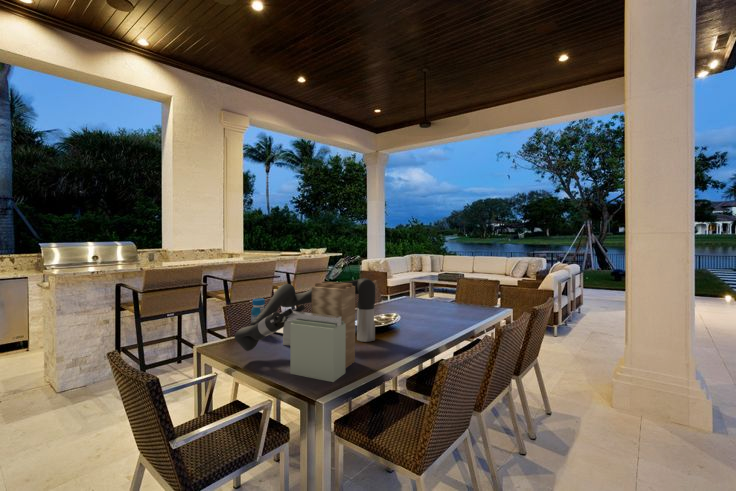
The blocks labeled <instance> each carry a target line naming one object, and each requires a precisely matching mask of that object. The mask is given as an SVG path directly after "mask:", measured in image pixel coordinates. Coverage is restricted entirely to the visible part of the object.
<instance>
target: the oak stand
mask: <svg viewBox="0 0 736 491" xmlns="http://www.w3.org/2000/svg"><path fill="white" fill-rule="evenodd" d="M339 282H340V281H321V282H315V283H314V286H312V287H311V289H312V302H311V313H315V314H324V315H333V316H341V321H344V323H346V350H345V369H347V368H348V367H350V366H351V365H352V363H353V364H354V363H355V362H356V294H355V286H352V283H339Z"/></svg>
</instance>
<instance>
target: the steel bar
mask: <svg viewBox="0 0 736 491" xmlns="http://www.w3.org/2000/svg"><path fill="white" fill-rule="evenodd" d="M292 320H302V321H310V322H318V323H326V324H334V325H336V327H339V326H341V316H333V315H324V314H315V313H312V312H305V311H304V312H303V311H301V312H297V311H293V313H292V314H290V315H289V316H287V321H292Z"/></svg>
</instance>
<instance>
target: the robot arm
mask: <svg viewBox="0 0 736 491" xmlns="http://www.w3.org/2000/svg"><path fill="white" fill-rule="evenodd" d="M338 282H339V283H352V286H355V295H358V300H357V303H356V306H357V307H356V328H357V329H356V340H357V341H358V342H365V343H368V342H372V341H375V340H376V323H375V304H376V284H375V283H374V281H372V280H371V279H369V278H367V277H363V278H358V279H355V280H349V281H338ZM310 303H311V304H312V288H310V289H308V290H307V291H304V292H300V293H299V292H298V293H296V289H295V287H294V285H293V284H290V283H284V284H282V285H280V286H279V287H278V288H277V289H276V290H275V292H274V293H273V295H272V297H271V298H270V299H269V302H267V304H266V305H265V306H264V307H265V308H264V309H263V310H262V312H261V313H260V314H259V315H258V316H257V317H256V318H255V319H254V320H253V321H252V322H250V325H248V326H244V327H241V328H240V329H238V330H237V331H235V333H234V340H235V341H236V342H237V343H238V344H239V346H240V347H242V349H243V350H244V351H245V352H249V351H252V350H253V349H255V347H256V346H257V345H258V343H259V341H260V340H263V339H264V338H266V337H267V336H270V335H272V334H274V333H277V332H276V331H278V330H280V329H281V328H283V327H284V324H285V322H286V321H287V316H289V315H290V314H292V313H293V311H297V312H303V311H304V310H306V308H305V307H306V306H305V304H310ZM296 306H297V307H296ZM280 307H283V308H288V309H286V310H284V311H282V312H278V310H279V309H280ZM291 307H295V308H294V309H292V308H291Z"/></svg>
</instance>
